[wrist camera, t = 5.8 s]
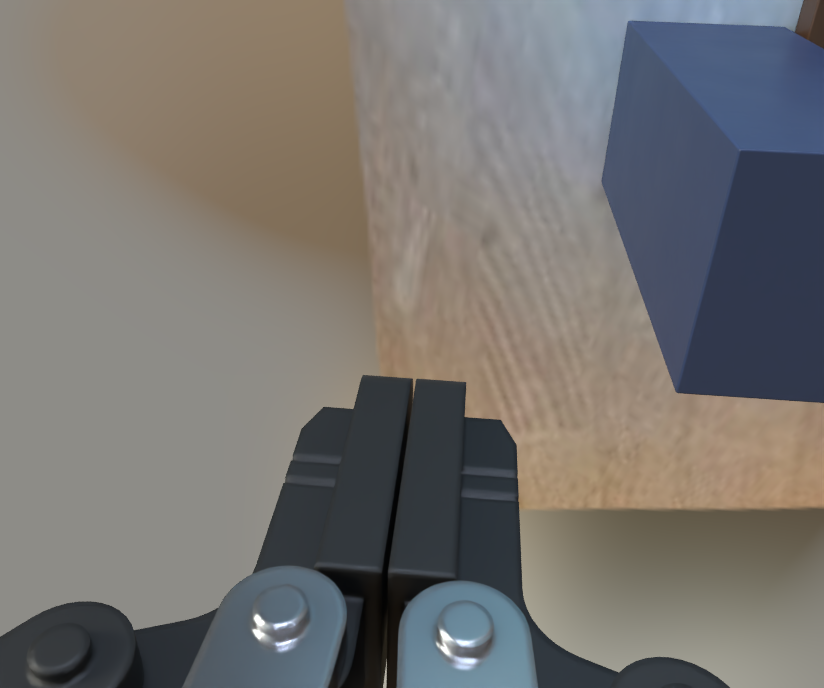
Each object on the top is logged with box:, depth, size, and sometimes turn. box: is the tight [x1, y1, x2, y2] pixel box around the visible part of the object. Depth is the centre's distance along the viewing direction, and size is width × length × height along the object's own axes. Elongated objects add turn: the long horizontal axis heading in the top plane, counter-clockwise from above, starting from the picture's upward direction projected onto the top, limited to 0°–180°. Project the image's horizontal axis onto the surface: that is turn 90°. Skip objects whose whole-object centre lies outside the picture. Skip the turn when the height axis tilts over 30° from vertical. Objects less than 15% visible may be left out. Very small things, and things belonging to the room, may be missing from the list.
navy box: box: [602, 21, 824, 403], centre depth 21 cm, size 5×6×13 cm
